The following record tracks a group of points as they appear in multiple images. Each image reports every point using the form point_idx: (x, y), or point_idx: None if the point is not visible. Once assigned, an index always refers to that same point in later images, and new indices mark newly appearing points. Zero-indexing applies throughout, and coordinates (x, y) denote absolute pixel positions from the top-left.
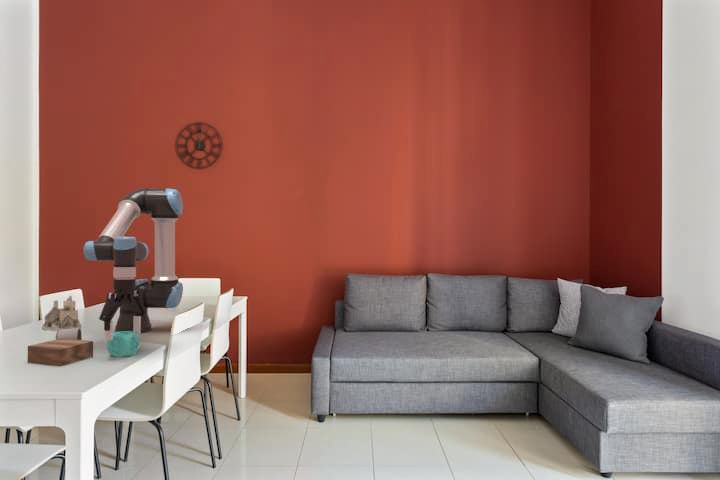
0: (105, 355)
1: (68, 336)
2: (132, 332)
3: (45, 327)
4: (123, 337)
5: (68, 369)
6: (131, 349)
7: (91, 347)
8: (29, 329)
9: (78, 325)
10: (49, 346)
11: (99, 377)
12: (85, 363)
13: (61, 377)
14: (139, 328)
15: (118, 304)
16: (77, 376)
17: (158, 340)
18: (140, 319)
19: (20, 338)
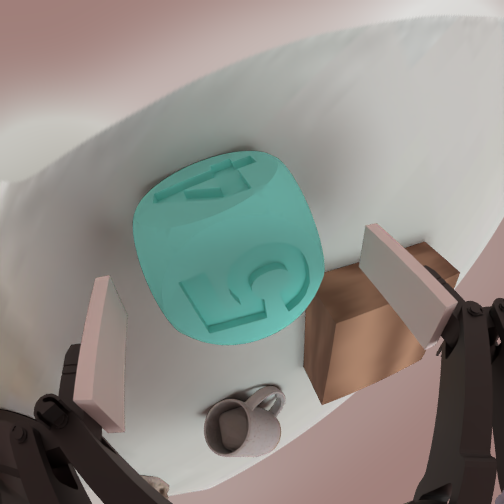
0: None
1: (265, 428)
2: (192, 263)
3: (166, 488)
4: (309, 211)
5: (447, 191)
6: (214, 175)
7: (332, 301)
8: (182, 488)
9: None
10: None
11: (478, 42)
12: (390, 211)
13: (492, 140)
14: (99, 304)
15: (488, 455)
16: (484, 108)
17: None
18: (79, 371)
19: (233, 467)
